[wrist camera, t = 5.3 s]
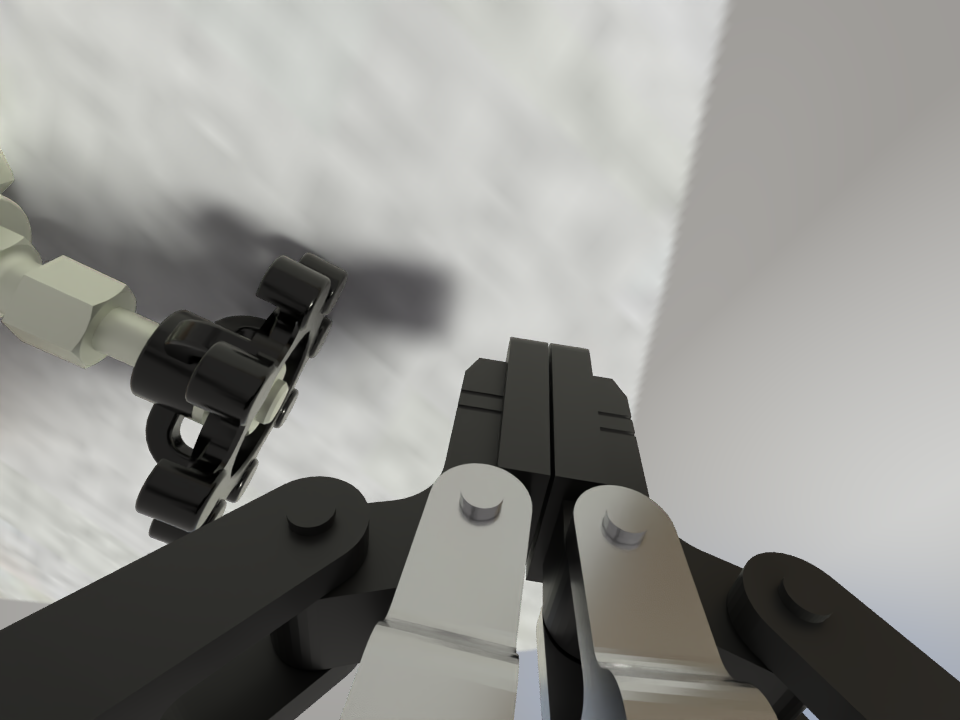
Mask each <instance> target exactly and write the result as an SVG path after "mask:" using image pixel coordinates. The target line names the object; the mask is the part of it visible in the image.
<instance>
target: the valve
mask: <svg viewBox="0 0 960 720" xmlns="http://www.w3.org/2000/svg"><path fill="white" fill-rule="evenodd" d="M13 181H14V177H13V173H12V170H11V168H10V166H9V164H8V162H7V160H6V158H5V156H4V154H3V152H2V150H1V148H0V318H2V317H3V319H2V322H3V323H4V324H5V325H6V326H7V327H8V328H9V329H10V330H11V331H12V332H13V333H14V334H15V335H16V336H17V337H18V338H19V339H20V340H21V341H22V342H24V343H27V344H29V345H31V346H34V347H36V348H38V349H41V350H43V351H45V352H47V353H50V354H52V355H54V356H57V357H59V358H61V359H64V360H66V361H68V362H71V363H73V364H75V365H77V366H80V367H82V368H84V369H86V368H88V367H91V366H93V365H95V364H97V363H98V362H100V361H101V360H103V359H105V358H106V357H107V356H110V357H112V358H115V359H117V360H119V361H122V362H124V363H126V364H128V365H131V366H133V367H134V369H133V372H132V376H131V382H130V385H131V390H132V393H133V394H134V395H135V396H138V397H140V398H142V399H144V400H147V401H149V402H151V403H154V405H153V407H152V409H151V411H150V414H149V416H148V419H147V424H146V441H147V444H148V448H149V451H150V453H151V454H152V456H153V458H154V460H155V461H156V462H157V465H156V466H155V467H154V469H153V470H152V472H151V473H150V475H149V476H148V478H147V479H146V481H145V483H144V485H143V487H142V489H141V491H140V493H139V495H138V498H137V500H136V505H135V508H136V511H137V512H139V513H141V514H144V515H146V516H149V517H151V518H154V519H153V521H152V523H151V526H150V529H149V536H150V537H152V538H154V539H157V540H159V541H162V542H165V543H167V544H169V543H171V542H173V541H175V540H177V539H179V538H181V537H183V536H185V535H187V534H189V533H191V532H193V531H195V530H197V529H198V528H200V527H202V526H204V525H206V524H208V523H210V522H212V521H214V520H216V519H218V518H220V517H222V515H223V513H224V511H225V508H226V501H225V500H227V501H229V502H232V503H235V502H237V501H238V500H239V499H240V498H241V496H242V495H243V493H244V492H245V490H246V488H247V486H248V485H249V483H250V481H251V479H252V477H253V475H254V473H255V471H256V469H257V466H258V460H257V459H256V457H257V455H258V453H259V451H260V449H261V447H262V445H263V444H264V442H265V440H266V438H267V437H268V435H269V433H270V432H271V430H272V428H273V427H275V428H280V427H281V426H282V425H283V423H284V422H285V420H286V418H287V417H288V415H289V413H290V411H291V409H292V408H293V406H294V403H295V401H296V399H297V397H298V390H297V389H295V388H294V387H295V385H296V383H297V381H298V379H299V376H300V374H301V372H302V370H303V368H304V366H305V365H306V363H307V361H308V359H309V358H314V357H315V356H316V355H317V353H318V352H319V350H320V349H321V347H322V345H323V343H324V341H325V339H326V337H327V335H328V333H329V331H330V328H331V325H332V321H331V320H330V319H329V318H327V317H324V315H328V314H329V313H330V312H331V310H332V309H333V307H334V306H335V304H336V302H337V300H338V299H339V297H340V295H341V293H342V290H343V288H344V286H345V283H346V281H347V277H348V273H347V272H346V271H345V270H343V269H341V268H339V267H337V266H335V265H333V264H331V263H329V262H327V261H325V260H323V259H321V258H319V257H317V256H316V255H314V254H312V253H306V254H305V255H304V256H303V257H302V258H301V259H300V261H299V262H297V261H295V260H293V259H291V258H289V257H287V256H284V255H282V256H279V257H278V258H277V259H276V260H275V261H274V262H273V263H272V264H271V266H270V267H269V269H268V270H267V272H266V273H265V275H264V277H263V279H262V281H261V283H260V285H259V288H258V290H257V293H256V296H257V297H259V298H261V299H263V300H265V301H267V302H269V303H271V304H273V305H275V306H277V308H276V309H275V310H274V311H273V313H272V314H271V315H270V316H269V317H268V318H267V320H265V319H262V318H258V317H253V316H230V317H226V318H223V319H220V320H218V321H216V322H215V323H213V322H211V321H209V320H207V319H205V318H203V317H201V316H198V315H196V314H194V313H192V312H190V311H188V310H179V311H177V312H174V313H173V314H172V315H170V316H169V317H167V318H166V319H165V320H164V321H163V322H162V323H161V324H158V323H156V322H154V321H152V320H150V319H147V318H145V317H143V316H141V315H139V314H137V313H135V311H136V299H135V296H134V295H133V293H132V291H131V290H130V289H129V287H128V286H127V285H126V284H124V283H122V282H120V281H118V280H116V279H113V278H111V277H109V276H107V275H105V274H103V273H101V272H99V271H96V270H94V269H92V268H90V267H88V266H86V265H84V264H81V263H79V262H77V261H75V260H73V259H71V258H69V257H66V256H64V255H62V256H60V257H58V258H56V259H54V260H52V261H50V262H48V263H46V264H44V265H42V260H41V257H40V255H39V253H38V252H37V250H36V249H35V248H34V247H33V245H32V244H31V242H32V237H31V227H30V224H29V221H28V217H27V216H26V214H25V213H24V211H23V210H22V209H21V207H20V206H19V205H18V204H16V203H15V202H14V201H12V200H11V199H9V198H7V197H5V196H3V195H1V194H2V193H3V192H4V191H5V190H6V189H7V188H8V187H9V186H10V185H11V184H12V183H13ZM184 417H186V418H188V419H191V420H193V421H195V422H197V423H200V424H202V425H203V427H202V429H201V432H200V434H199V436H198V439H197V441H196V444H195V446H194V449H192V448H190V447H189V446H187V445H186V444H185V443H184V441H183V440H182V438H181V435H180V426H181V423H182V421H183V419H184Z"/></svg>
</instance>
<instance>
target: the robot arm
mask: <svg viewBox="0 0 960 720" xmlns="http://www.w3.org/2000/svg"><path fill="white" fill-rule="evenodd" d="M634 433H635V431H634V427H633V422H632V420H631V413H630V409H629V404H628V400H627V397H626V395H625V394H624V393H623V392H622V390H621V389H620V388H619V387H618V385H617V384H616V383H615V382H614V381H613V379H609V378H603V377H597V376H593V374H592V367H591V359H590V353H589V350H588V349H584V348H578V347H572V346H565V345H559V344H553V343H550V345H549V348H548V343H546V342H539V341H533V340H527V339H521V338H514V337H510V342H509V347H508V352H507V358H506V362H502V361H496V360H489V359H483V358H479V359H478V360H477V361H476V362H475V363H474V364H473V365H472V366H471V367H470V368H468V369H467V370H466V371H465V375H464V380H463V384H462V389H461V393H460V398H459V402H458V408H457V411H456V416H455V420H454V425H453V429H452V434H451V439H450V443H449V448H448V452H447V457H446V461H445V465H444V468H443V471H442V473H441V475H440V476H439V477H438V478H437V480H436V481H435V482H434V484H432V485H431V486H430V487H429V488H427V489H426V490H424V491H423V492H421V493H419V494H416V495H414V496H411V497H408V498H405V499H399V500H393V501H384V502H374V503H367V502H366V500H365V498H364V496H363V495H362V494H361V493H360V491H359V490H357V489H356V488H355V487H354V486H352V485H351V484H349V483H347V482H345V481H342V480H339V479H336V478H331V477H321V476H318V477H307V478H301V479H298V480H294V481H291V482H289V483H287V484H284V485H282V486H280V487H278V488H276V489H274V490H272V491H270V492H269V493H267V494H265V495H263V496H261V497H259V498H257V499H255V500H253V501H251V502H249V503H247V504H245V505H243V506H241V507H239V508H237V509H235V510H234V511H232V512H230V513H228V514H226V515H224V516H222V517H220V518H218V519H216V520H214V521H212V522H210V523H208V524H206V525H204V526H202V527H200V528H198V529H197V530H195V531H193V532H191V533H189V534H187V535H185V536H183V537H181V538H179V539H177V540H175V541H173V542H171V543H169V544H167V545H165V546H163V547H161V548H160V549H158V550H156V551H154V552H152V553H150V554H148V555H146V556H144V557H142V558H140V559H138V560H136V561H134V562H132V563H130V564H128V565H126V566H125V567H123V568H121V569H119V570H117V571H115V572H113V573H111V574H109V575H107V576H105V577H103V578H101V579H99V580H97V581H95V582H93V583H91V584H89V585H88V586H86V587H84V588H82V589H80V590H78V591H76V592H74V593H72V594H70V595H68V596H66V597H64V598H62V599H60V600H58V601H56V602H54V603H52V604H51V605H49V606H47V607H45V608H43V609H41V610H39V611H37V612H35V613H33V614H31V615H29V616H27V617H25V618H23V619H21V620H19V621H17V622H15V623H14V624H12V625H10V626H8V627H6V628H4V629H2V630H0V720H294V719H295V718H297V717H298V716H299V715H300V714H301V713H303V712H304V711H305V710H306V709H307V708H309V707H310V706H311V705H312V704H313V703H315V702H316V701H317V700H318V699H319V698H321V697H322V696H323V695H324V694H325V693H327V692H328V691H329V690H330V689H331V688H332V687H334V686H335V685H336V684H337V683H339V682H340V681H341V680H342V679H343V678H345V677H346V676H347V675H348V674H349V673H350V672H351V671H352V670H353V669H354V668H355V667H356V665H357V664H358V663H360V664H359V667H358V670H357V673H356V675H355V678H354V681H353V684H352V686H351V689H350V692H349V695H348V698H347V700H346V703H345V706H344V708H343V711H342V714H341V717H340V720H514V712H515V703H516V694H517V684H518V673H519V655H518V654H516V642H517V633H518V625H519V616H520V608H521V600H522V591H523V583H524V575H525V566H526V580H529V581H535V582H541V583H543V605H542V608H541V611H540V614H539V618H538V621H537V626H536V638H537V654H538V668H539V684H540V700H541V715H542V720H809V719H808V718H807V717H806V716H805V715H804V714H803V713H802V712H803V711H804V710H805V709H806V708H808V709H809V710H810V711H811V712H812V713H813V714H814V715H815V716H816V717H817V718H818V719H819V720H960V682H959V681H958V680H957V679H956V678H954V677H953V676H952V675H951V674H949V673H948V672H947V671H946V670H944V669H943V668H942V667H941V666H940V665H938V664H937V663H936V662H935V661H933V660H932V659H931V658H930V657H929V656H927V655H926V654H925V653H924V652H922V651H921V650H920V649H919V648H918V647H916V646H915V645H914V644H913V643H911V642H910V641H909V640H907V639H906V638H905V637H904V636H903V635H902V634H900V633H899V632H898V631H897V630H895V629H894V628H893V627H892V626H890V625H889V624H888V623H887V622H886V621H884V620H883V619H882V618H881V617H879V616H878V615H877V614H876V613H875V612H873V611H872V610H871V609H870V608H868V607H867V606H866V605H865V604H863V603H862V602H861V601H860V600H859V599H857V598H856V597H855V596H854V595H852V594H851V593H850V592H849V591H847V590H846V589H845V588H844V587H843V586H841V585H840V584H839V583H838V582H836V581H835V580H834V579H833V578H831V577H830V576H829V575H827V574H826V573H825V572H823V571H822V570H820V569H819V568H817V567H815V566H814V565H812V564H810V563H808V562H806V561H804V560H802V559H800V558H797V557H794V556H791V555H787V554H783V553H776V552H766V553H762V554H758V555H756V556H754V557H752V558H751V559H750V560H749V561H748V562H747V563H746V565H745V567H744V568H740V567H738V566H736V565H733V564H731V563H729V562H727V561H724V560H722V559H720V558H717V557H715V556H713V555H710V554H708V553H706V552H703V551H701V550H699V549H697V548H695V547H693V546H691V545H689V544H688V543H686V542H685V541H683V540H682V539H680V538H679V537H678V535H677V532H676V529H675V527H674V525H673V522H672V521H671V519H670V518H669V516H668V515H667V514H666V512H665V511H664V510H663V509H662V508H661V507H660V506H659V505H658V504H657V503H655V502H654V501H653V500H651V499H650V498H649V494H648V489H647V485H646V481H645V476H644V472H643V467H642V463H641V458H640V454H639V449H638V445H637V440H636V437H635V436H634ZM526 562H527V563H526Z"/></svg>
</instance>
